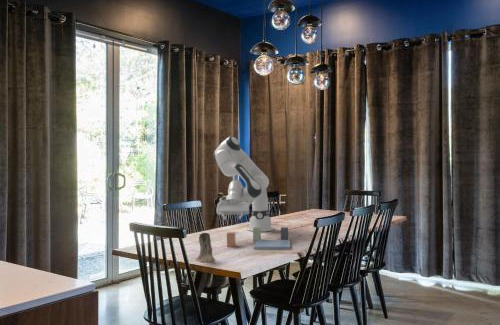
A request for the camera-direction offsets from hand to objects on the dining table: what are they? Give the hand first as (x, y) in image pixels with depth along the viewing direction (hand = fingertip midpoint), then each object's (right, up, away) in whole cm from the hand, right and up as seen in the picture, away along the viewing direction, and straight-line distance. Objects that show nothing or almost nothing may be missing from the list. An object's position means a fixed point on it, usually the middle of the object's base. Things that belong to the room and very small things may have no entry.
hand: (232, 218), depth 267 cm
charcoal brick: (+32, -14, +4) cm, 35 cm away
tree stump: (-12, -16, -43) cm, 47 cm away
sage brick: (+15, -14, +5) cm, 21 cm away
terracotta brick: (0, -15, -10) cm, 17 cm away
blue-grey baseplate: (+24, -14, -11) cm, 30 cm away
